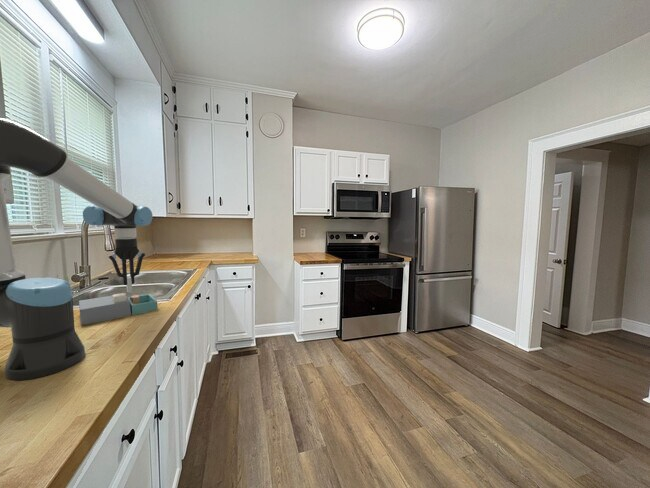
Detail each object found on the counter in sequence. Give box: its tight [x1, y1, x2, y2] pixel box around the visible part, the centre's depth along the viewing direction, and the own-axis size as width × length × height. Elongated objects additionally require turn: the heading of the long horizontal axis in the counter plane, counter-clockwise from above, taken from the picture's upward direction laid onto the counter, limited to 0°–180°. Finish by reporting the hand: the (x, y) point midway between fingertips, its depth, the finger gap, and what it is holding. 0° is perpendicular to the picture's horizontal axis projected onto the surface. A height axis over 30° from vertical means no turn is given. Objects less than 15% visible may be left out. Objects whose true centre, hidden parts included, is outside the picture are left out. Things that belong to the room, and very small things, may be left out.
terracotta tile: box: [130, 294, 140, 305], centre depth 118 cm, size 4×4×2 cm
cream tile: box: [111, 292, 127, 303], centre depth 108 cm, size 4×4×2 cm
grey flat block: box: [78, 295, 132, 326], centre depth 108 cm, size 15×14×6 cm
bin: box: [127, 293, 158, 316], centre depth 117 cm, size 9×14×4 cm, turn 44°
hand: (129, 291), depth 116 cm, fingers closed
